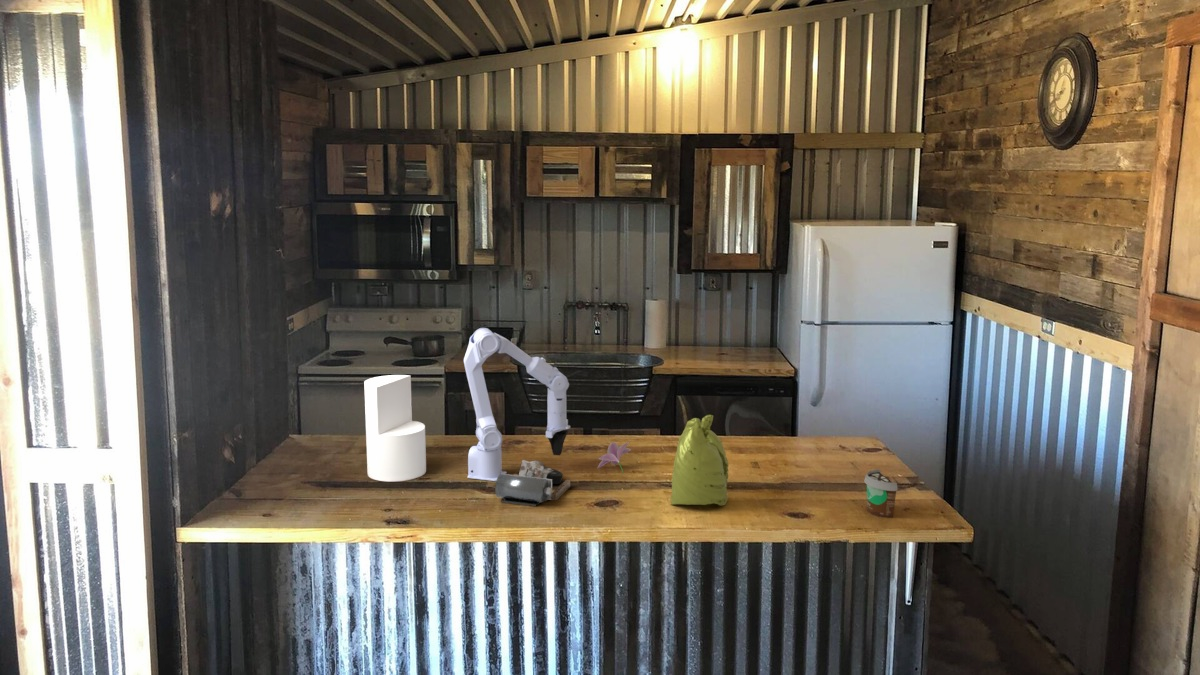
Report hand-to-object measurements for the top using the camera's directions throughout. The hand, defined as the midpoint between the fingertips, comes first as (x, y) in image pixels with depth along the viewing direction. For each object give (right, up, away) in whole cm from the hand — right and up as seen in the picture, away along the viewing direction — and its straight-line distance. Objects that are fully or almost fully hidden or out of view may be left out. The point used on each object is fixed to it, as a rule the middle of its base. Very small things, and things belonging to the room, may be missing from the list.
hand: (557, 454), depth 276 cm
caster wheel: (-4, -7, -10) cm, 13 cm away
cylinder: (-48, -5, -2) cm, 48 cm away
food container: (+87, -12, -31) cm, 93 cm away
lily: (+18, -5, +2) cm, 18 cm away
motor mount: (-7, -8, -20) cm, 23 cm away
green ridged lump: (+41, -9, -21) cm, 47 cm away
